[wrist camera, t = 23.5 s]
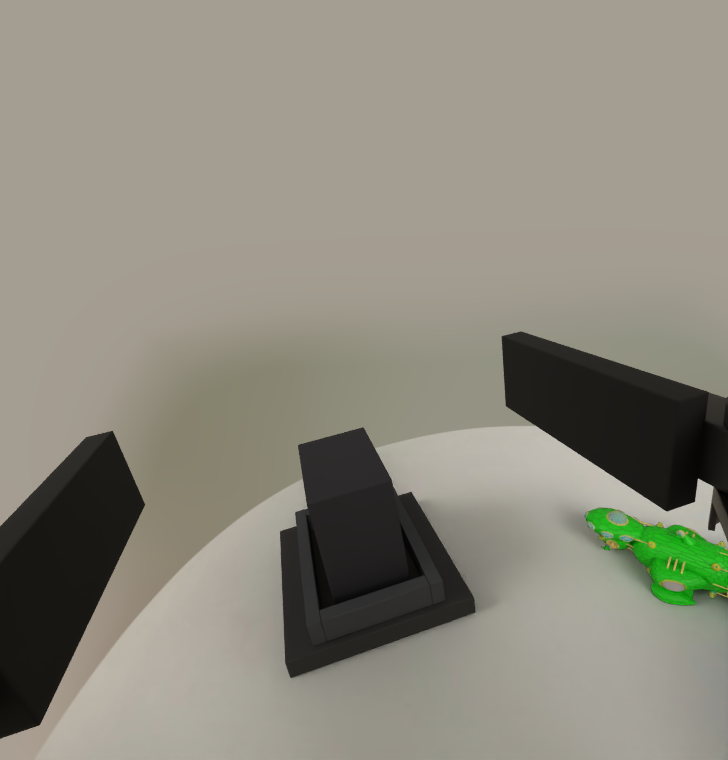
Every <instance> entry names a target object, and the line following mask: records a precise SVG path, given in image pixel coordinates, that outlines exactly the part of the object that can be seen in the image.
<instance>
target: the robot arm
mask: <svg viewBox="0 0 728 760" xmlns="http://www.w3.org/2000/svg"><path fill="white" fill-rule="evenodd" d="M502 347H503V348H502V349H503V366H504V382H505V399H506V406H507V407H508V408H510V409H511V410H513V411H514V412H516V413H517V414H519V415H520V416H522V417H524V418H525V419H526V420H528V421H529V422H531V423H532V424H534V425H536V426H537V427H539V428H540V429H542V430H543V431H545V432H546V433H548V434H549V435H551V436H552V437H554V438H555V439H557V440H558V441H560V442H561V443H563V444H564V445H566V446H568V447H569V448H571V449H572V450H574V451H575V452H577V453H578V454H580V455H581V456H583V457H584V458H586V459H587V460H589V461H590V462H592V463H593V464H595V465H597V466H598V467H600V468H601V469H603V470H604V471H606V472H607V473H609V474H610V475H612V476H613V477H615V478H616V479H618V480H619V481H621V482H622V483H624V484H626V485H627V486H629V487H630V488H632V489H633V490H635V491H636V492H638V493H639V494H641V495H642V496H644V497H645V498H647V499H648V500H650V501H651V502H653V503H655V504H656V505H658V506H659V507H661V508H662V509H664V510H665V511H670V510H672V509H675V508H678V507H681V506H684V505H687V504H690V503H693V502H695V497H696V489H697V481H698V478H699V479H700V480H702V481H704V482H706V483H708V484H710V485H712V486H714V489H713V496H712V502H711V509H710V516H709V523H708V530H712V531H715V525H716V524H717V523H719V522H720V523H721V526H722V528H723V531H724V533H725V536H726V538H727V541H728V397H727V398H724V397H720V396H718V395H715V394H711V393H709V392H707V391H704V390H700V389H697V388H694V387H691V386H688V385H685V384H682V383H679V382H676V381H673V380H669V379H666V378H663V377H660V376H657V375H654V374H651V373H648V372H645V371H641V370H639V369H635V368H632V367H629V366H626V365H623V364H620V363H617V362H614V361H611V360H608V359H604V358H601V357H598V356H595V355H592V354H589V353H586V352H582V351H580V350H576V349H574V348H570V347H567V346H564V345H561V344H558V343H555V342H552V341H549V340H546V339H543V338H539V337H536V336H533V335H530V334H527V333H524V332H518V333H513V334H509V335H505V336H502ZM144 506H145V504H144V501H143V499H142V497H141V494H140V492H139V490H138V487H137V485H136V483H135V481H134V478H133V476H132V474H131V471H130V469H129V467H128V465H127V462H126V460H125V458H124V455H123V453H122V451H121V449H120V446H119V444H118V442H117V440H116V437H115V435H114V433H113V431H111V432H106V433H102V434H98V435H94V436H90V437H86V438H85V439H84V440H83V441H82V442H81V443H80V445H78V446H77V447H76V448H75V449H74V451H72V452H71V454H70V455H69V456H68V457H67V458H66V459H65V460H64V461H63V462H62V463H61V464H60V465H59V466H58V467H57V468H56V469H55V470H54V471H53V472H52V473H51V474H50V475H49V476H48V477H47V478H46V480H45V481H44V482H43V483H42V484H41V485H40V486H39V487H38V488H37V489H36V490H35V491H34V492H33V493H32V494H31V495H30V496H29V497H28V498H27V499H26V500H25V501H24V502H23V503H22V504H21V506H20V507H19V508H18V509H17V510H16V511H15V512H14V513H13V514H12V515H11V516H10V517H9V518H8V519H7V520H6V521H5V522H4V523H3V524H2V525H1V526H0V738H3V737H6V736H9V735H12V734H15V733H18V732H21V731H24V730H27V729H30V728H33V727H36V726H39V725H40V724H41V722H42V720H43V717H44V715H45V713H46V711H47V709H48V707H49V705H50V703H51V701H52V698H53V696H54V694H55V692H56V690H57V688H58V686H59V684H60V682H61V680H62V678H63V676H64V673H65V671H66V669H67V667H68V665H69V663H70V661H71V659H72V657H73V655H74V652H75V650H76V648H77V646H78V644H79V642H80V640H81V638H82V636H83V634H84V631H85V629H86V627H87V625H88V623H89V621H90V619H91V617H92V615H93V613H94V611H95V609H96V606H97V604H98V602H99V600H100V598H101V596H102V594H103V592H104V590H105V588H106V585H107V583H108V581H109V579H110V577H111V575H112V573H113V571H114V569H115V566H116V564H117V562H118V560H119V558H120V556H121V554H122V552H123V550H124V547H125V546H126V543H127V541H128V539H129V537H130V535H131V533H132V531H133V529H134V527H135V525H136V522H137V520H138V518H139V516H140V514H141V512H142V510H143V508H144Z"/></svg>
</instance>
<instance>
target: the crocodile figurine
mask: <svg viewBox="0 0 728 760" xmlns="http://www.w3.org/2000/svg"><path fill="white" fill-rule="evenodd" d="M584 516H585V518H586V521H587V525H588V527H589V528H590V529H592V530H594V531H595V532H596V533H598V534H600V536H599V537H598V538H599V539H600V540H603V541H604V542H605V543H606V546H605V547H603V548H604V549H605V550H610V549H612V548H614V549H619V550H622V549H626V548H628V549H630V550H632V551H633V553H634V554H635V556H636V558H637V559H638V560H639V561H640V562H641V563H642V564H643V565H645V566H646V568H647V572H648V573H650V575H651V578H652V580H653V581H654V582H653V583H652V585H651V590H652V592H653V594H654V595H655V596H656V597H657V598H659V599H660V600H662V601H664V602H666V603H670V604H676V605H693V604H696V602H695V601H694V600H693V593H694V590H699V589H705V590H707V591H708V592H709V593H708V594H709V597H711V598H714V597H715V595H717V594H719V595H722V596H724V597H727V598H728V549H725V548H726V547H725V543H724V542H723V541H722V542H721V541H720V543H719V544H717V545H715V544H712V543H709V542H707V541H706V540H705V539H704V538H702V537H701V536H700V535H699V534H698V533H697V532H695V531H694V530H692V529H689V528H686V527H683V526H680V525H673V526H670V527H668V528H666V529H665V528H663V527H662V526H663V525H662V524H663V523H661V522H658V523H659V524H657V525H656V526H653V525H650V524H647V523H644V522H641V521H639V520H638V519H637V518H635V517H630V516H628V515H626V514H624V513H623V512H622V511H620V510H615V509H611V508H597V509H594V510H591V511H589V512H586V513H585V515H584ZM641 523H642V524H641ZM643 524H646V525H648V526H645V527H644V526H643ZM631 545H632V546H631ZM629 547H632V549H631V548H629ZM725 592H726V594H727V596H726V595H723V594H720V593H725ZM716 593H717V594H716ZM713 596H714V597H713Z"/></svg>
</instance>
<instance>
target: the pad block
mask: <svg viewBox="0 0 728 760" xmlns="http://www.w3.org/2000/svg"><path fill="white" fill-rule="evenodd" d="M298 449H299V455H300V460H301V461H300V462H301V469H302V475H303V482H304V488H305V495H306V502H307V507H308V510H309V514H310V518H311V521H312V525H313V528H314V532H315V536H316V539H317V543H318V546H319V550H320V554H321V557H322V561H323V564H324V568H325V572H326V575H327V579H328V582H329V586H330V590H331V593H332V597H333V600H334V604H335V605H336V604H339V603H342V602H345V601H348V600H351V599H354V598H357V597H360V596H363V595H366V594H369V593H372V592H375V591H378V590H381V589H384V588H387V587H390V586H393V585H396V584H399V583H402V582H405V581H408V580H410V575H409V570H408V565H407V559H406V554H405V549H404V543H403V538H402V532H401V527H400V522H399V516H398V511H397V506H396V500H395V495H394V490H393V484H392V480H391V478H390V476H389V474H388V472H387V470H386V469H385V467H384V465H383V463H382V461H381V459H380V457H379V455H378V454H377V452H376V450H375V448H374V446H373V444H372V442H371V441H370V439H369V437H368V435H367V433H366V431H365V430H364V428H359V429H356V430H352V431H348V432H345V433H341V434H337V435H333V436H330V437H326V438H323V439H319V440H315V441H311V442H307V443H304V444H300V445H298Z"/></svg>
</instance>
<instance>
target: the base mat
mask: <svg viewBox="0 0 728 760" xmlns="http://www.w3.org/2000/svg"><path fill="white" fill-rule="evenodd" d="M393 490H394V495H395V500H396V506H397V511H398V516H399V522H400V527H401V532H402V538H403V543H404V549H405V554H406V559H407V565H408V570H409V575H410V580H408V581H405V582H402V583H399V584H396V585H393V586H390V587H387V588H384V589H381V590H378V591H375V592H372V593H369V594H366V595H363V596H360V597H357V598H354V599H351V600H348V601H345V602H342V603H339V604H336V605H335V604H334V600H333V597H332V593H331V590H330V586H329V582H328V579H327V575H326V572H325V568H324V564H323V561H322V557H321V554H320V550H319V546H318V543H317V539H316V536H315V532H314V528H313V525H312V521H311V518H310V514H309V510H308V509H306V510H305V509H304V510H301V511H298V512H295V515H296V525H297V526H296V527H293V528H289V529H286V530H283V531H280V541H281V566H282V591H283V615H284V640H285V663H286V666H287V669H288V672H289V675H290V677H294V676H297V675H300V674H303V673H306V672H308V671H311V670H314V669H317V668H320V667H322V666H325V665H328V664H331V663H334V662H336V661H339V660H342V659H345V658H348V657H351V656H353V655H356V654H359V653H362V652H365V651H367V650H370V649H373V648H376V647H379V646H381V645H384V644H387V643H390V642H393V641H395V640H398V639H401V638H404V637H407V636H409V635H412V634H415V633H418V632H421V631H423V630H426V629H429V628H432V627H435V626H437V625H440V624H443V623H446V622H449V621H452V620H454V619H457V618H460V617H463V616H466V615H468V614H471V613H474V612H475V604H474V597H473V595H472V594H471V592H470V590H469V589H468V587H467V585H466V584H465V582H464V580H463V578H462V577H461V575H460V573H459V572H458V570H457V568H456V567H455V565H454V563H453V562H452V560H451V558H450V556H449V555H448V553H447V551H446V550H445V548H444V546H443V545H442V543H441V541H440V540H439V538H438V536H437V534H436V533H435V531H434V529H433V528H432V526H431V524H430V523H429V521H428V519H427V518H426V516H425V514H424V513H423V511H422V509H421V507H420V506H419V504H418V502H417V501H416V499H415V497H414V496H413V494H412V492H409V493H406V494H403V495H399V496H398V495H397V493H396V491H395V489H394V487H393Z"/></svg>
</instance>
